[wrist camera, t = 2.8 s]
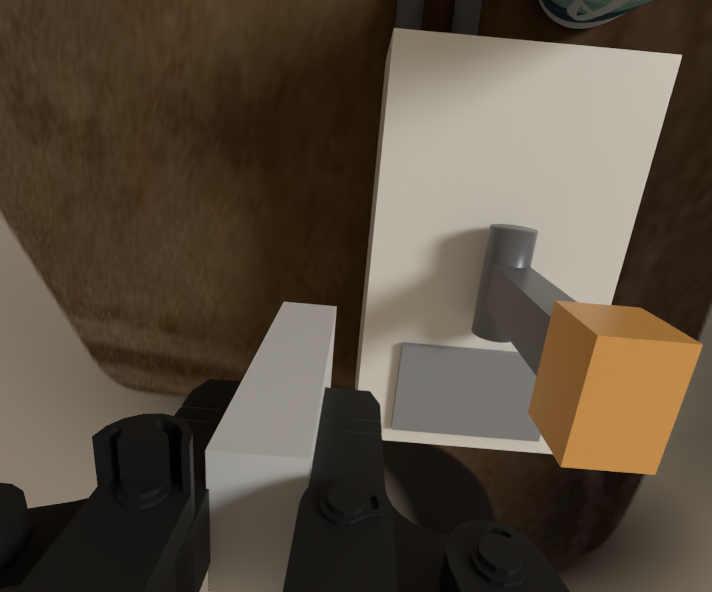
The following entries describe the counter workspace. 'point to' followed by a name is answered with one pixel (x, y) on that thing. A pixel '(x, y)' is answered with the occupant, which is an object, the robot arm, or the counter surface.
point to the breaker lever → (585, 361)
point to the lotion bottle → (587, 11)
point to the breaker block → (493, 214)
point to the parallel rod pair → (462, 23)
